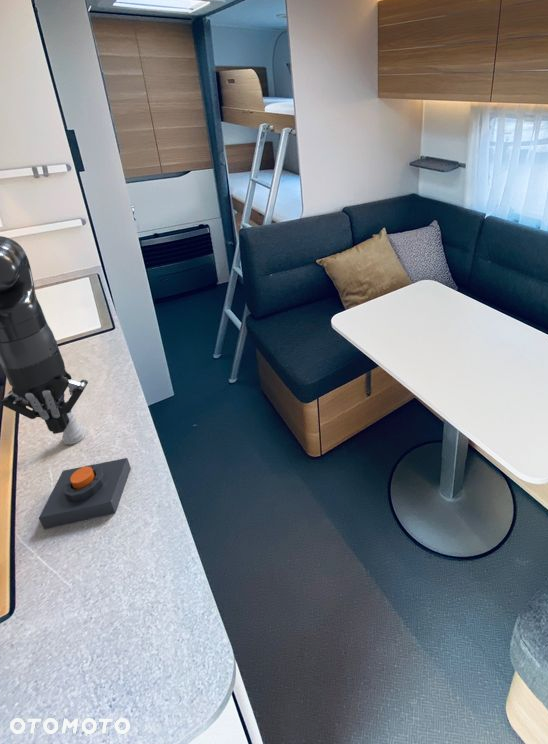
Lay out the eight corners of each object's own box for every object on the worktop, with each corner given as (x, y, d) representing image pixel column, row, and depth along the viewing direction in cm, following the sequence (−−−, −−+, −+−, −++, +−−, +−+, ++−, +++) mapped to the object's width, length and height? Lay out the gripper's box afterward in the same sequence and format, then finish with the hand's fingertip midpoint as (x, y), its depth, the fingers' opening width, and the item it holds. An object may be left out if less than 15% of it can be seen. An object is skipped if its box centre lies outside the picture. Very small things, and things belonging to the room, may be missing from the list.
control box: (44, 529, 76) (34, 511, 74) (67, 481, 85) (60, 464, 83) (115, 513, 78) (108, 495, 76) (131, 468, 87) (125, 451, 85)
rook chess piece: (69, 449, 92) (58, 422, 89) (60, 440, 94) (48, 414, 91) (90, 435, 96) (80, 408, 92) (81, 427, 98) (70, 401, 95)
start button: (69, 491, 78) (66, 485, 77) (77, 474, 81) (74, 468, 80) (90, 487, 78) (87, 480, 78) (97, 470, 82) (95, 464, 81)
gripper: (-32, 374, 64) (7, 454, 70) (64, 360, 67) (93, 438, 73) (-4, 345, 70) (30, 421, 77) (82, 334, 73) (108, 407, 80)
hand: (61, 429), depth 75 cm, fingers closed
